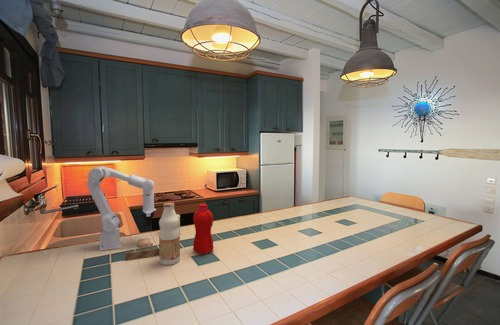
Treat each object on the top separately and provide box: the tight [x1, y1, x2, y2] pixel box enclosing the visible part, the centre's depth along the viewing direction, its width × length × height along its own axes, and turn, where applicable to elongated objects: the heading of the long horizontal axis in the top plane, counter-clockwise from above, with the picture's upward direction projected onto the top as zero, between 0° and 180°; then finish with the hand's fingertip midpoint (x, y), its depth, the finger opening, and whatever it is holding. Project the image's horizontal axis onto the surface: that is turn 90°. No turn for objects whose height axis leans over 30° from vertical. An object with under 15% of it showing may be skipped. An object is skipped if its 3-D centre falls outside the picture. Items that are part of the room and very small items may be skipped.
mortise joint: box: [124, 242, 159, 261], centre depth 129 cm, size 16×9×4 cm, turn 111°
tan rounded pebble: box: [137, 237, 151, 249], centre depth 140 cm, size 6×6×3 cm
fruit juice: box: [158, 202, 181, 266], centre depth 121 cm, size 9×9×28 cm
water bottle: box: [192, 203, 214, 255], centre depth 133 cm, size 9×11×25 cm
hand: (148, 225), depth 142 cm, fingers closed
